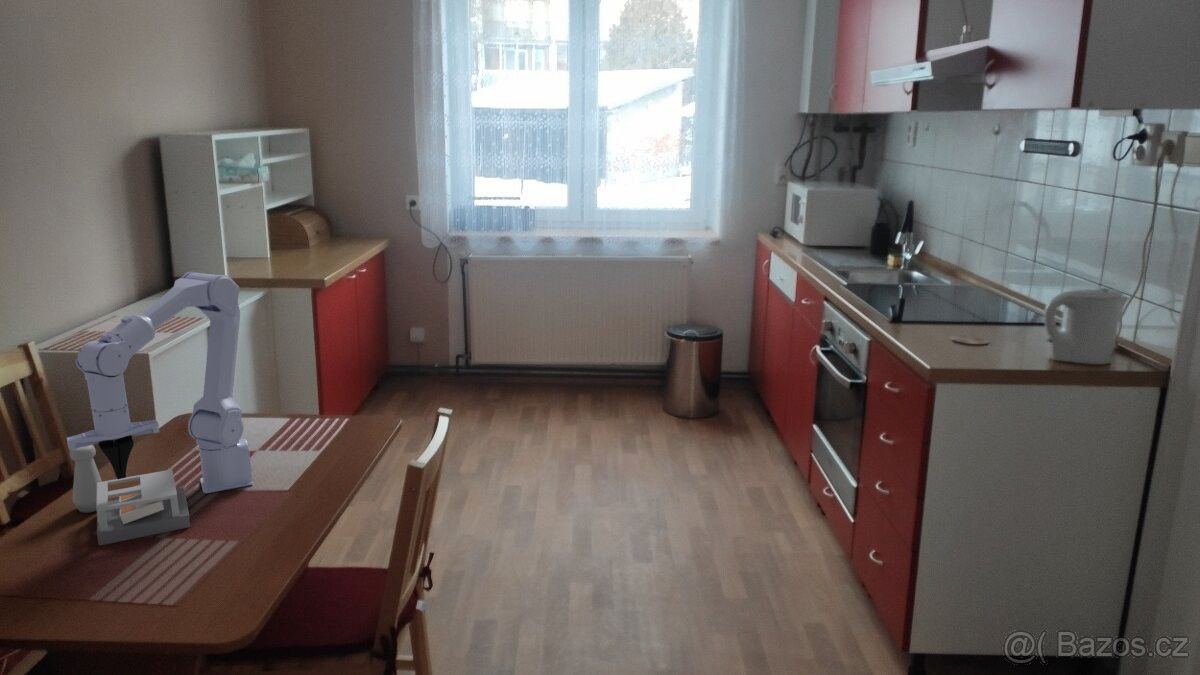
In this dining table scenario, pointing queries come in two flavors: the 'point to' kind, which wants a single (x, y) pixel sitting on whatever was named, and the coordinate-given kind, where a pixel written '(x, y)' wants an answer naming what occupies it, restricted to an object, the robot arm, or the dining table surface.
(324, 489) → the dining table surface
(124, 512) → the rocker near
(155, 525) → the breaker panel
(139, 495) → the rocker far
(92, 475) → the salt shaker
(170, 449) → the dining table surface
